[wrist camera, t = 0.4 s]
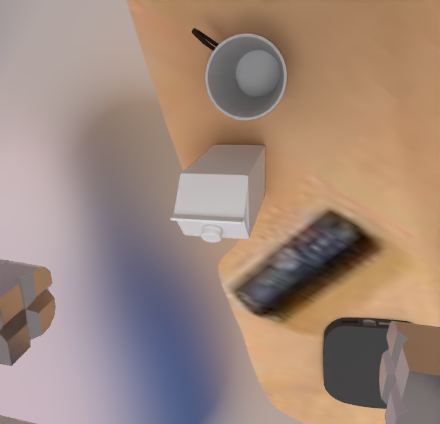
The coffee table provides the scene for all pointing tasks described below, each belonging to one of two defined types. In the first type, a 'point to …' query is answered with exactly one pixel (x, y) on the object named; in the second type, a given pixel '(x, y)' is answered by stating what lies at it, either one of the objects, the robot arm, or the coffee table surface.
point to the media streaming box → (355, 360)
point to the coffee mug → (244, 75)
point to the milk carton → (222, 192)
